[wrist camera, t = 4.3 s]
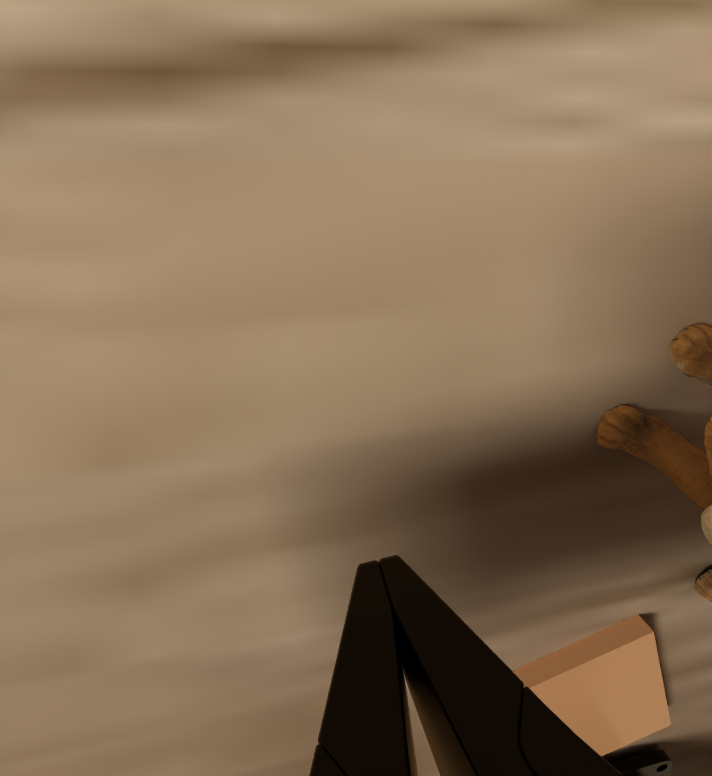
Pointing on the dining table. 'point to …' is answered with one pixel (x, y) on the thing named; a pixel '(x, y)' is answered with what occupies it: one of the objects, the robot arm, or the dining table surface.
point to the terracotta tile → (604, 685)
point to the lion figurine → (672, 436)
